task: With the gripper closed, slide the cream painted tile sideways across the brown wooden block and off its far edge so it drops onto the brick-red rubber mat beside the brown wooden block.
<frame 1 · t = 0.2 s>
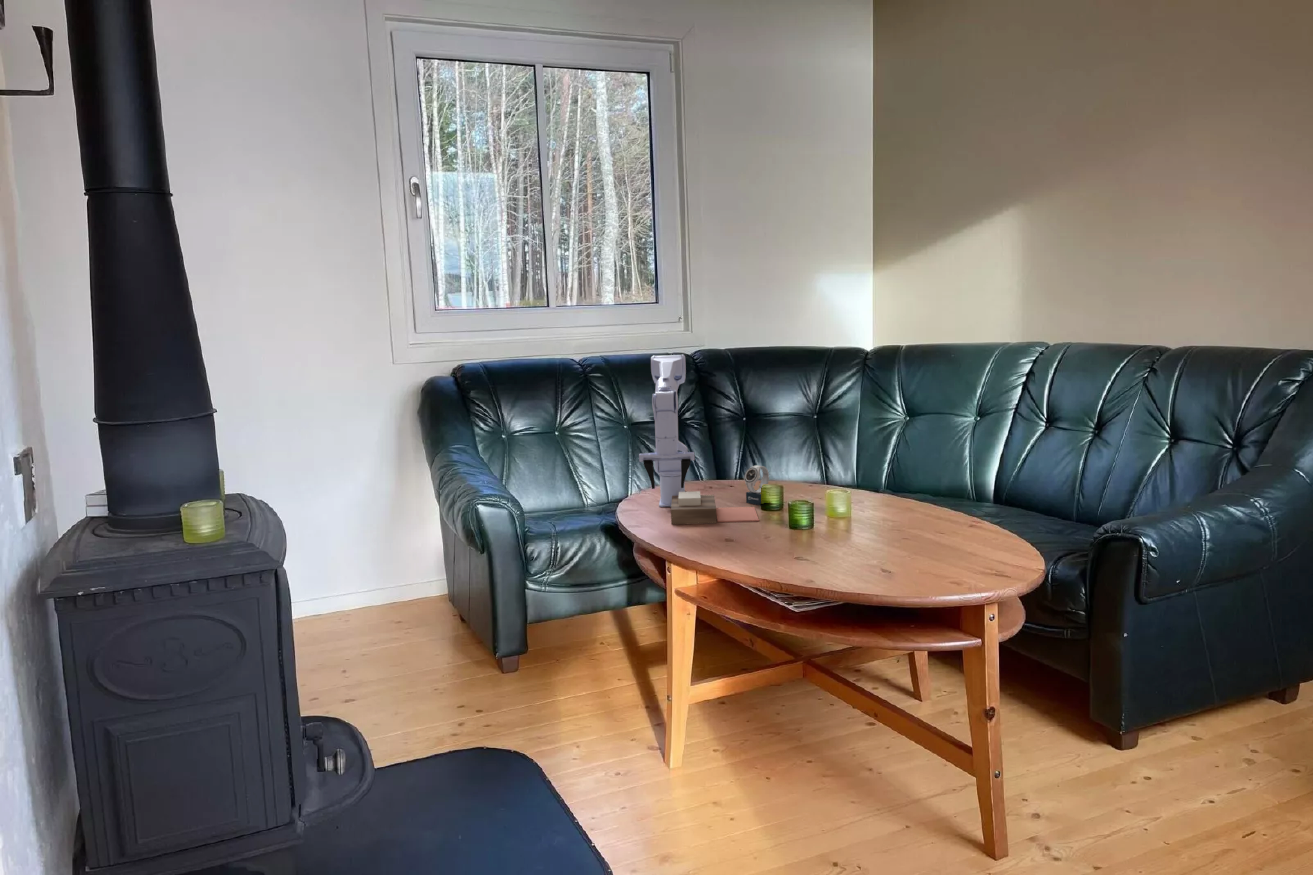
hand: (667, 487, 223), 10 cm above the table, fingers open, 7 cm apart
watch: (758, 503, 247), on the table
brown wooden block: (693, 516, 233), on the table
tile: (689, 501, 232), point 4 cm above the table, touching brown wooden block
mat: (736, 515, 232), on the table
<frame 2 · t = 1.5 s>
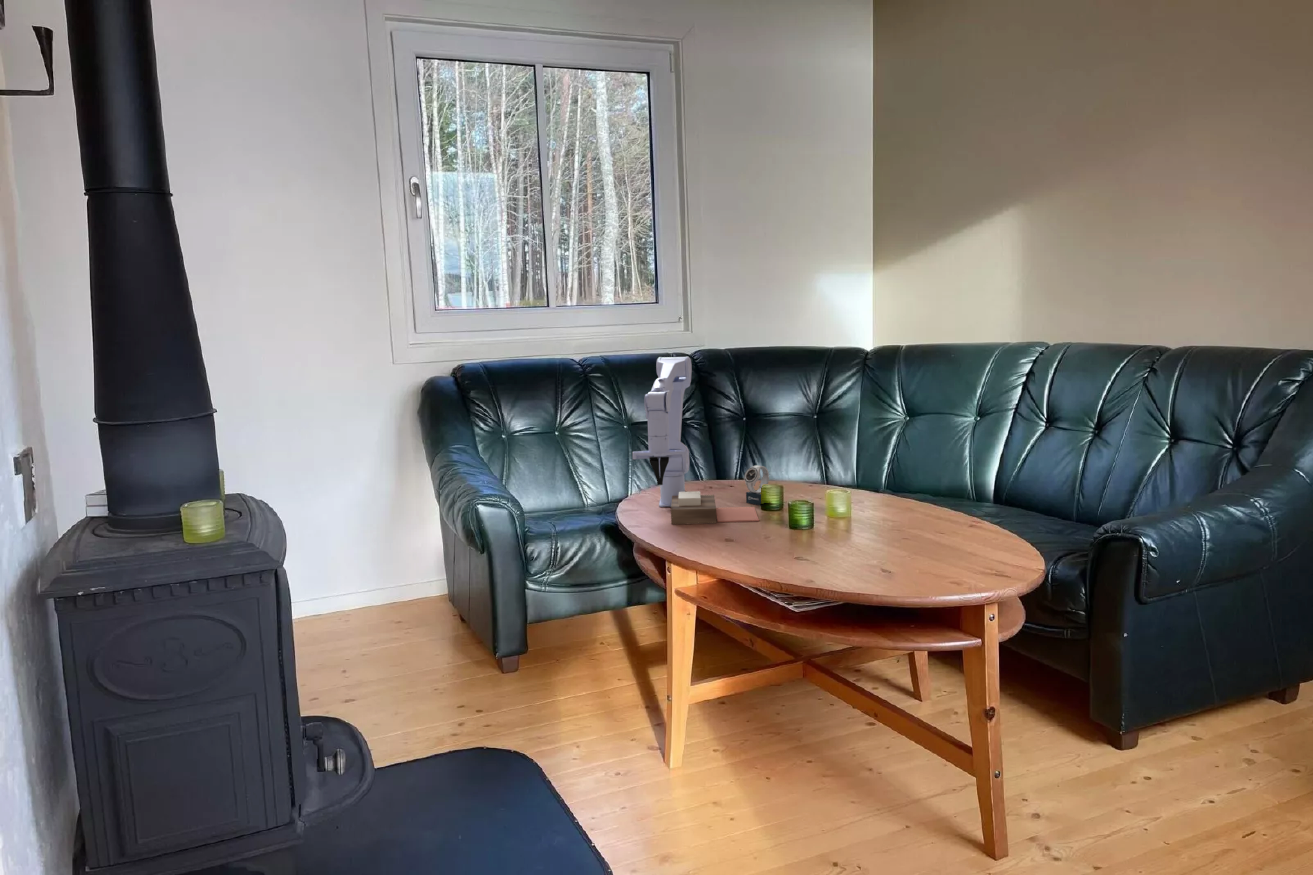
hand: (660, 484, 232), 9 cm above the table, fingers closed
nothing on the table moved.
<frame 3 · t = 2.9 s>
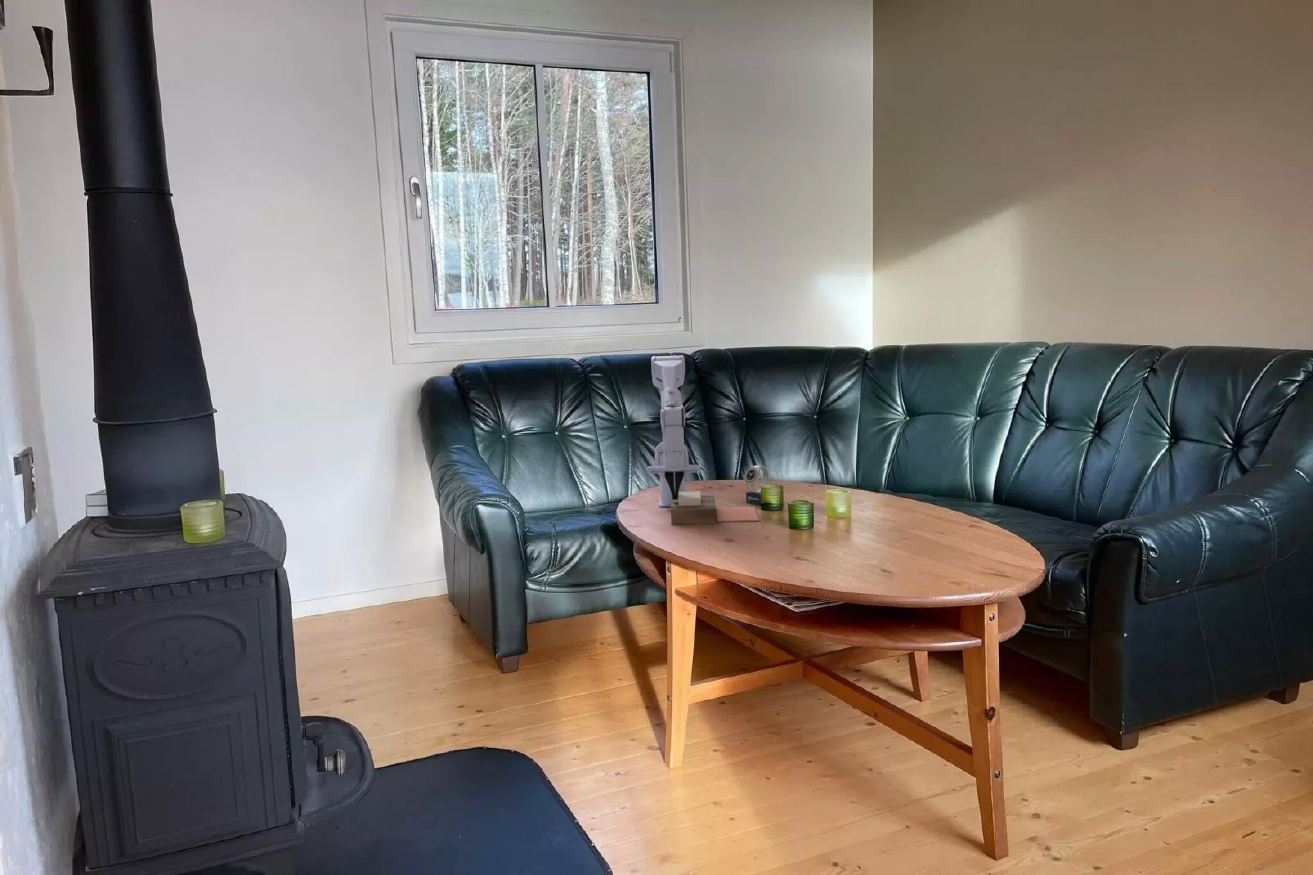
hand: (675, 499, 232), 5 cm above the table, fingers closed
tile: (689, 501, 232), point 4 cm above the table, touching brown wooden block, gripper
everything else where it was.
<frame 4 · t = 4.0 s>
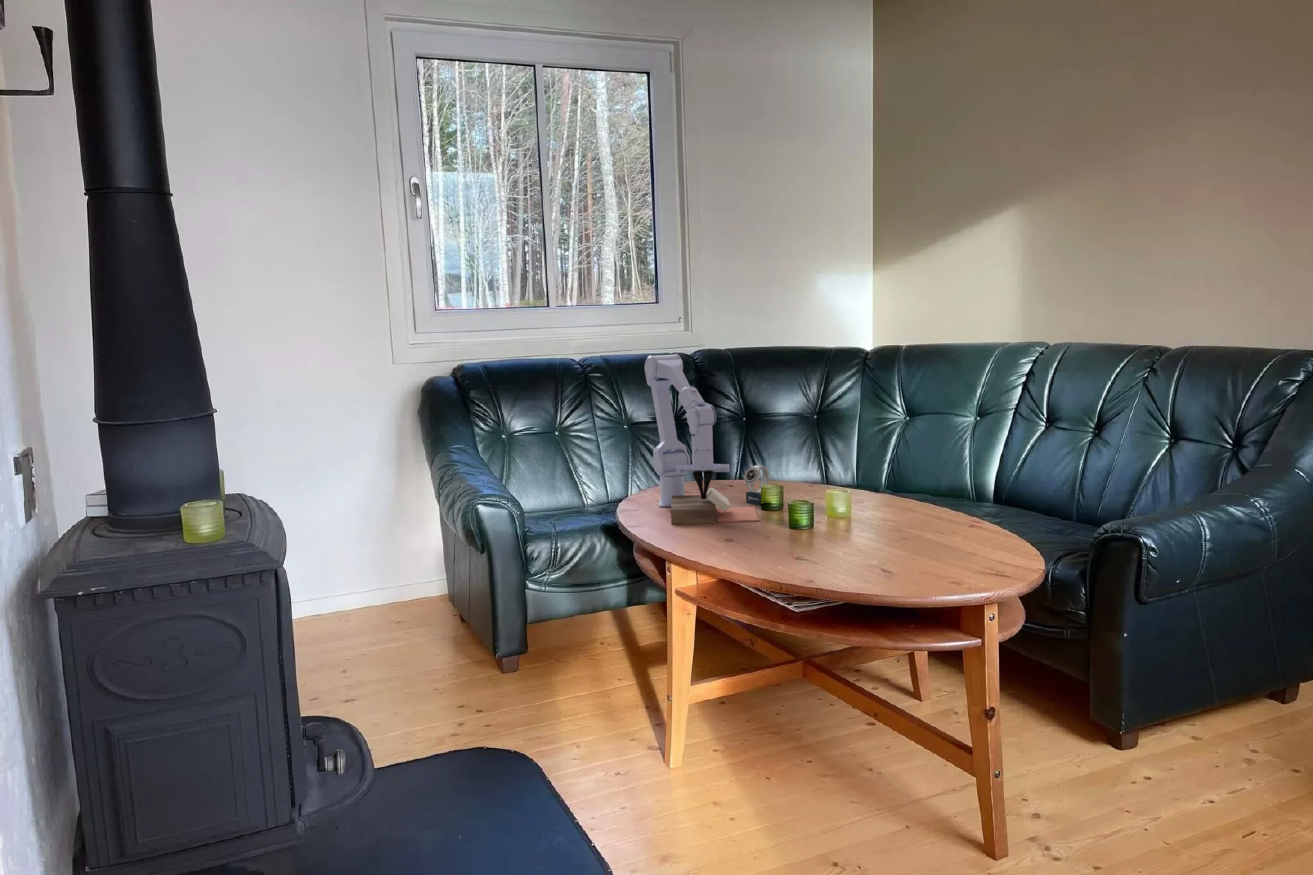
hand: (703, 498, 232), 5 cm above the table, fingers closed
tile: (715, 502, 232), point 4 cm above the table, tilted 38°
everything else where it was.
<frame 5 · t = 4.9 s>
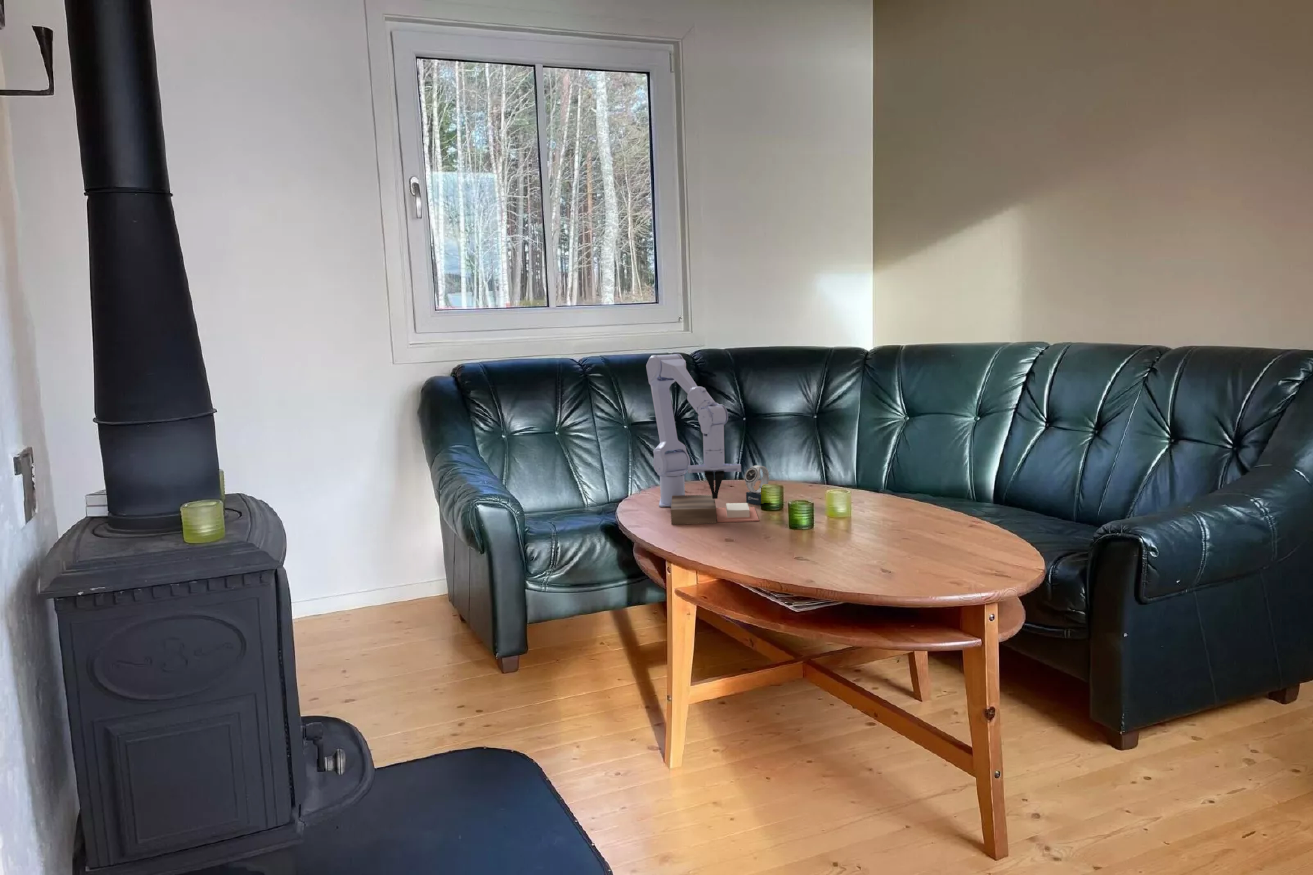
hand: (714, 498, 232), 5 cm above the table, fingers closed
tile: (737, 506, 232), point 2 cm above the table, tilted 180°, touching mat
everything else where it was.
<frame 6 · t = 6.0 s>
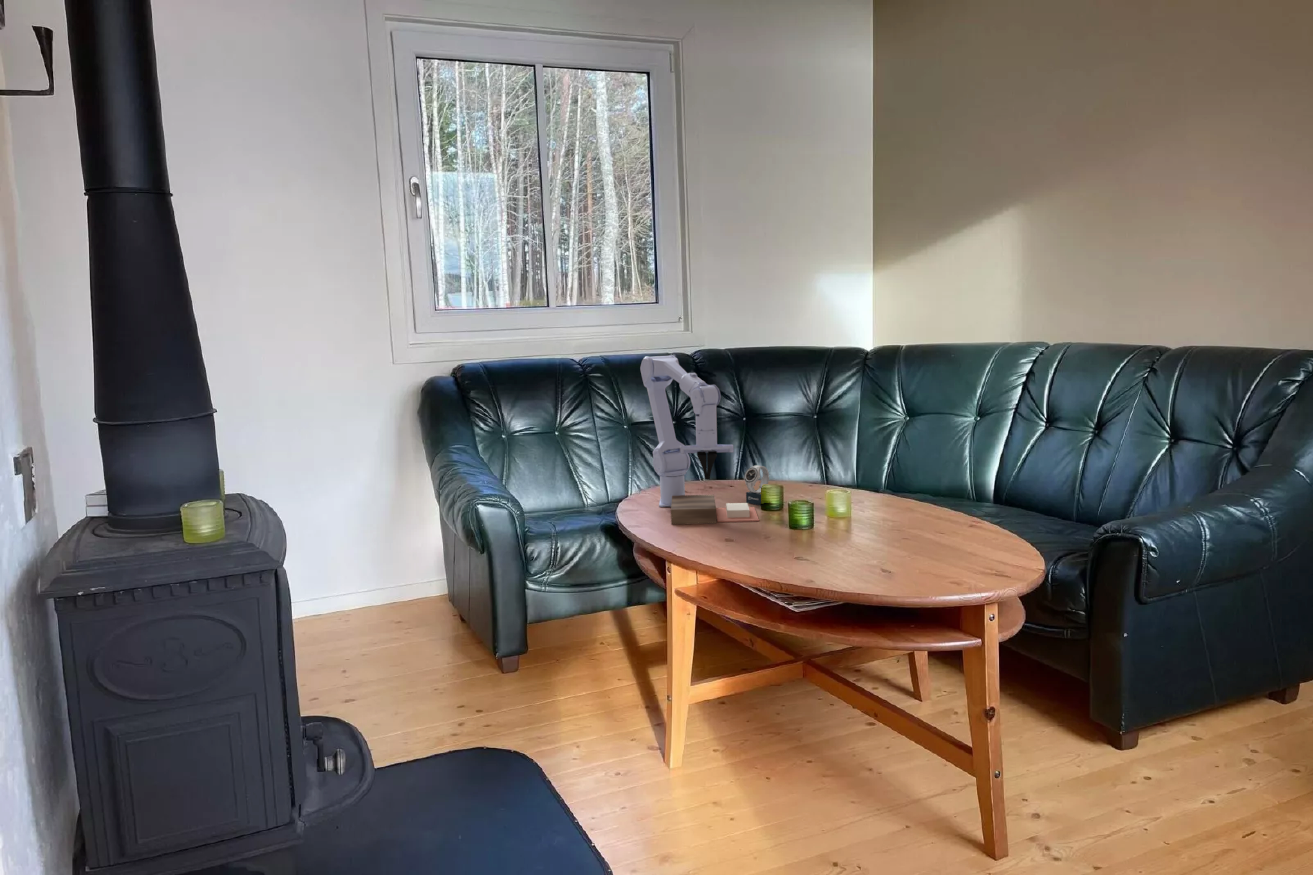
hand: (707, 478, 232), 10 cm above the table, fingers closed
nothing on the table moved.
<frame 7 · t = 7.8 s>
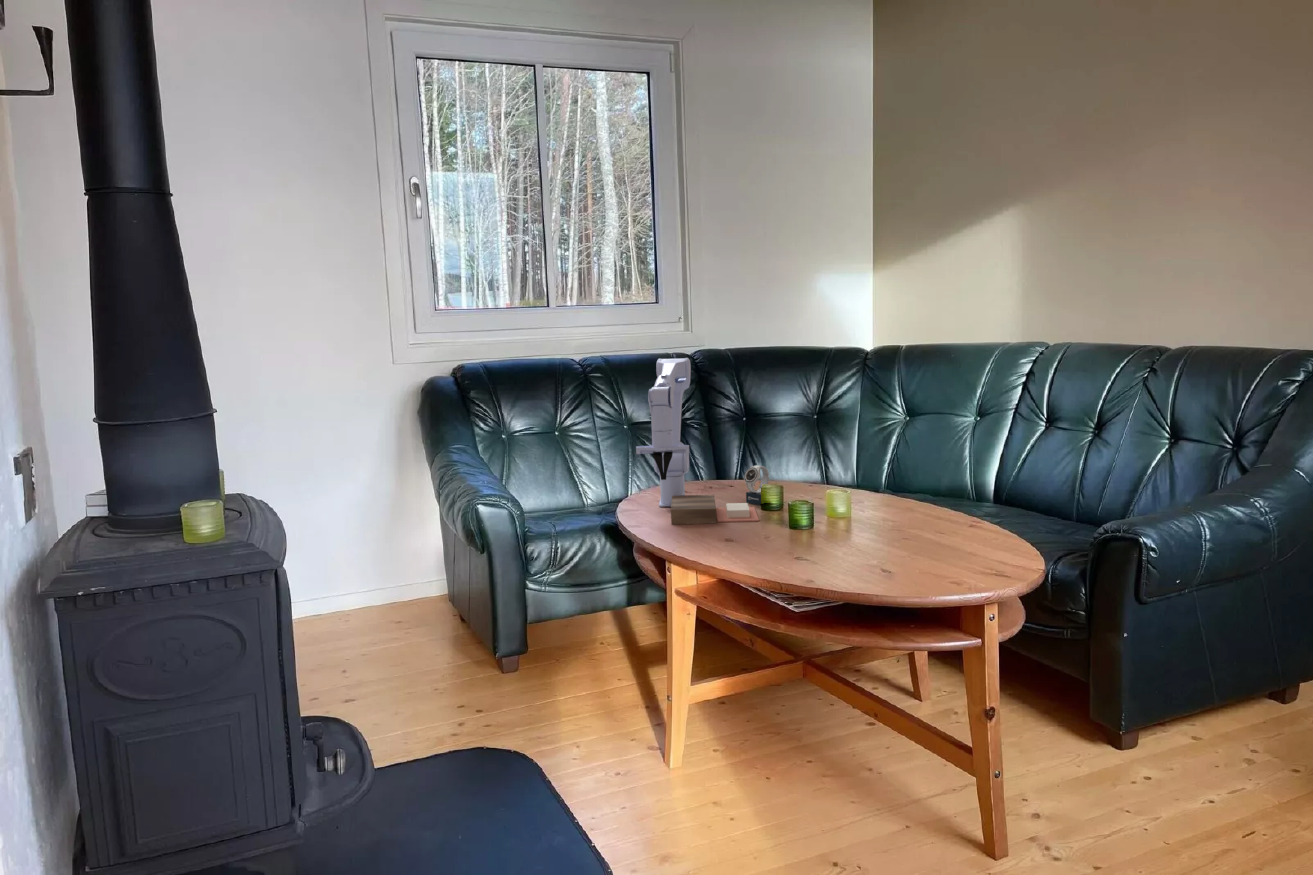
hand: (663, 479, 233), 10 cm above the table, fingers closed
nothing on the table moved.
at the end: tile inside the target area (0.2 cm from its centre), point 2.4 cm above the table; tile point 2.4 cm above the table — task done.
